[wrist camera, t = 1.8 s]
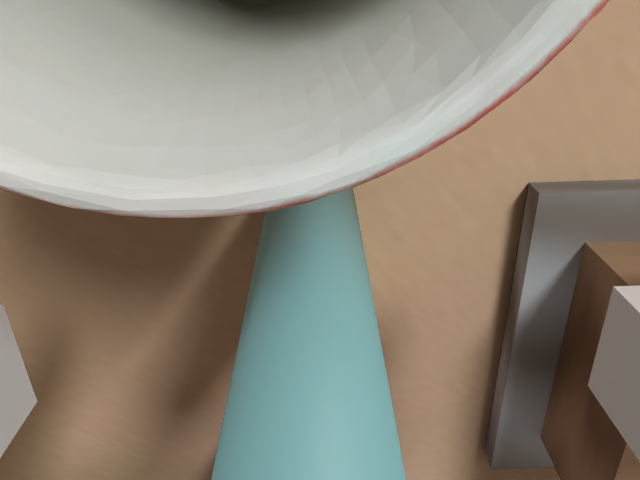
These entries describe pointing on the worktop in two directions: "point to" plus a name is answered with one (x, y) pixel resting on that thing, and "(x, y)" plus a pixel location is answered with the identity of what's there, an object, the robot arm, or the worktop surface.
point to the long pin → (310, 357)
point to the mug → (250, 94)
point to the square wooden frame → (564, 331)
